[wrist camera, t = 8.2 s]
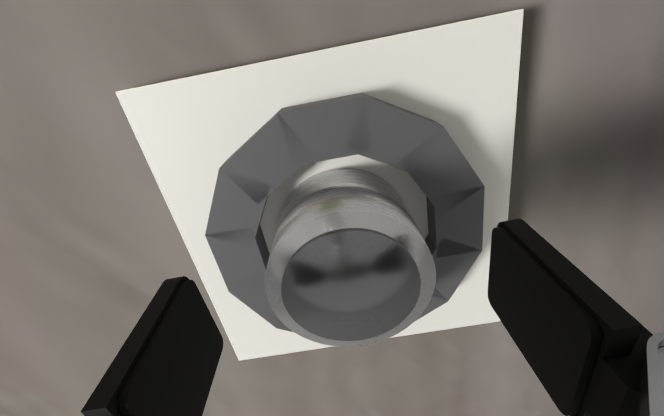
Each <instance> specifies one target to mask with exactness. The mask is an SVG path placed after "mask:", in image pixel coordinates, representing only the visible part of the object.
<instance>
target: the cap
mask: <svg viewBox="0 0 664 416" xmlns="http://www.w3.org/2000/svg"><path fill="white" fill-rule="evenodd" d="M264 284H265V293H266V297H267V300H268V302H269V305H270V307H271V309H272V310H273V312H274V314H275V315H276V316H277V318H278V319H279V320H280V321H281V322H282V323H283V324H284V325H285V326H286V327H288V328H289V329H290V330H292V331H293V332H295V333H296V334H298V335H300V336H302V337H304V338H306V339H308V340H311V341H313V342H317V343H320V344H325V345H330V346H340V347H353V346H363V345H368V344H373V343H376V342H379V341H382V340H385V339H387V338H390V337H392V336H394V335H396V334H398V333H400V332H401V331H403V330H404V329H406V328H407V327H408V326H410V325H411V324H412V323H413V322H415V320H416V319H417V318H418V317H419V316H420V315H421V314H422V313H423V311H424V310H425V309H426V307H427V306H428V304H429V302H430V300H431V298H432V295H433V292H434V289H435V284H436V268H435V263H434V260H433V256H432V254H431V252H430V250H429V248H428V246H427V244H426V242H425V240H424V239H423V237H422V235H421V233H420V231H419V229H418V227H417V225H416V224H415V222H414V220H413V218H412V216H411V214H410V212H409V210H408V209H407V207H406V205H405V203H404V201H403V199H402V197H401V196H400V194H399V193H398V192H397V190H396V189H395V188H394V187H393V186H392V185H391V184H390V183H388V182H387V181H386V180H385V179H383V178H381V177H380V176H378V175H376V174H373V173H371V172H368V171H365V170H361V169H355V168H337V169H330V170H326V171H323V172H320V173H317V174H315V175H313V176H311V177H309V178H307V179H306V180H304V181H303V182H302V183H300V184H299V185H298V186H297V187H296V188H295V189H294V190H293V191H292V192H291V194H290V195H289V196H288V198H287V199H286V201H285V203H284V205H283V207H282V210H281V213H280V217H279V221H278V225H277V229H276V233H275V236H274V240H273V244H272V248H271V252H270V256H269V260H268V264H267V268H266V272H265V281H264Z"/></svg>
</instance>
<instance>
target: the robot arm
mask: <svg viewBox="0 0 664 416" xmlns="http://www.w3.org/2000/svg"><path fill="white" fill-rule="evenodd" d="M488 300H489V302H490V305H491V306H492V308H493V310H494V311H495V313H496V314H497V316H498V317H499V319H500V320H501V322H502V323H503V325H504V326H505V328H506V329H507V331H508V332H509V334H510V336H511V337H512V339H513V340H514V342H515V343H516V345H517V346H518V348H519V349H520V351H521V352H522V354H523V355H524V357H525V359H526V360H527V362H528V363H529V365H530V366H531V368H532V369H533V371H534V372H535V374H536V375H537V377H538V378H539V380H540V381H541V383H542V385H543V386H544V388H545V389H546V391H547V392H548V394H549V395H550V397H551V398H552V400H553V401H554V403H555V404H556V406H557V408H558V409H559V410H560V412H561V413H562V414H564V415H565V416H568V415H570V416H664V332H660V333H656V334H654V335H653V334H651V333H650V332H649V331H648V330H647V329H646V328H645V327H643V325H642V324H641V323H639V322H638V321H637V320H636V319H635V318H634V317H633V316H631V315H630V314H629V313H628V312H627V311H626V310H625V309H623V308H622V307H621V306H620V305H619V304H618V303H617V302H615V301H614V300H613V299H612V298H611V297H610V296H609V295H607V294H606V293H605V292H604V291H603V290H602V289H601V288H599V287H598V286H597V285H596V284H595V283H594V282H593V281H592V280H590V279H589V278H588V277H587V276H586V275H585V274H584V273H582V272H581V271H580V270H579V269H578V268H577V267H576V266H574V265H573V264H572V263H571V262H570V261H569V260H568V259H566V258H565V257H564V256H563V255H562V254H561V253H560V252H558V251H557V250H556V249H555V248H554V247H553V246H552V245H551V244H549V243H548V242H547V241H546V240H545V239H544V238H543V237H541V236H540V235H539V234H538V233H537V232H536V231H535V230H533V229H532V228H531V227H530V226H529V225H528V224H527V223H525V222H524V221H523V220H521V219H514V220H508V221H502V222H499V223H498V225H497V227H496V228H493V230H492V237H491V251H490V265H489V280H488ZM222 349H223V338H222V336H221V334H220V332H219V330H218V328H217V326H216V324H215V322H214V320H213V318H212V316H211V314H210V312H209V310H208V308H207V306H206V304H205V302H204V300H203V298H202V296H201V294H200V292H199V290H198V288H197V286H196V284H195V282H194V281H193V280H189V279H188V278H187V277H184V276H183V277H177V278H172V279H167V280H165V281H164V282H163V283H162V285H161V287H160V288H159V290H158V291H157V293H156V294H155V296H154V298H153V299H152V301H151V302H150V304H149V305H148V307H147V309H146V310H145V312H144V313H143V315H142V316H141V318H140V320H139V321H138V323H137V324H136V326H135V327H134V329H133V330H132V332H131V334H130V335H129V337H128V338H127V340H126V341H125V343H124V345H123V346H122V348H121V349H120V351H119V352H118V354H117V356H116V357H115V359H114V360H113V362H112V363H111V365H110V367H109V368H108V370H107V371H106V373H105V374H104V376H103V378H102V379H101V381H100V382H99V384H98V385H97V387H96V389H95V390H94V392H93V393H92V395H91V396H90V398H89V400H88V401H87V403H86V404H85V406H84V407H83V409H82V411H81V412H82V413H83V414H84V416H202V414H203V411H204V407H205V404H206V401H207V398H208V394H209V391H210V388H211V385H212V381H213V378H214V375H215V372H216V368H217V365H218V362H219V359H220V355H221V352H222Z"/></svg>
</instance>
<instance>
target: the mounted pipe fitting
mask: <svg viewBox="0 0 664 416" xmlns="http://www.w3.org/2000/svg"><path fill="white" fill-rule="evenodd" d="M523 12H524V9H520V10H515V11H510V12H505V13H500V14H495V15H490V16H485V17H480V18H475V19H471V20H466V21H461V22H456V23H451V24H446V25H441V26H436V27H431V28H426V29H421V30H417V31H412V32H407V33H402V34H397V35H392V36H387V37H382V38H377V39H372V40H367V41H363V42H358V43H353V44H348V45H343V46H338V47H333V48H328V49H323V50H318V51H313V52H309V53H304V54H299V55H294V56H289V57H284V58H279V59H274V60H269V61H264V62H259V63H255V64H250V65H245V66H240V67H235V68H230V69H225V70H220V71H215V72H210V73H205V74H201V75H196V76H191V77H186V78H181V79H176V80H171V81H166V82H161V83H156V84H152V85H147V86H142V87H137V88H132V89H127V90H122V91H117V92H116V95H117V97H118V99H119V101H120V103H121V105H122V108H123V110H124V112H125V114H126V116H127V118H128V121H129V123H130V125H131V127H132V129H133V132H134V134H135V136H136V138H137V140H138V142H139V145H140V147H141V149H142V151H143V153H144V155H145V158H146V160H147V162H148V164H149V166H150V168H151V171H152V173H153V175H154V177H155V179H156V181H157V184H158V186H159V188H160V190H161V192H162V194H163V197H164V199H165V201H166V203H167V205H168V208H169V210H170V212H171V214H172V216H173V218H174V221H175V223H176V225H177V227H178V229H179V231H180V234H181V236H182V238H183V240H184V242H185V244H186V247H187V249H188V251H189V253H190V255H191V257H192V260H193V262H194V264H195V266H196V268H197V270H198V273H199V275H200V277H201V279H202V281H203V283H204V286H205V288H206V290H207V292H208V294H209V297H210V299H211V301H212V303H213V305H214V307H215V310H216V312H217V314H218V316H219V318H220V320H221V323H222V325H223V327H224V329H225V331H226V333H227V336H228V338H229V340H230V342H231V344H232V346H233V349H234V351H235V353H236V355H237V357H238V359H239V361H240V360H246V359H253V358H259V357H266V356H273V355H279V354H286V353H293V352H299V351H306V350H312V349H319V348H326V347H332V346H330V345H325V344H320V343H317V342H313V341H311V340H308V339H306V338H304V337H302V336H300V335H298V334H296V333H295V332H293V331H292V330H290V329H289V328H288V327H286V326H285V325H284V324H283V323H282V322H281V321H280V320H279V319H278V318H277V316H276V315H275V314H274V312H273V310H272V309H271V307H270V305H269V302H268V300H267V297H266V293H265V284H264V281H265V272H266V268H267V264H268V260H269V256H270V252H271V248H272V244H273V240H274V236H275V233H276V229H277V225H278V221H279V217H280V213H281V210H282V207H283V205H284V203H285V201H286V199H287V198H288V196H289V195H290V194H291V192H292V191H293V190H294V189H295V188H296V187H297V186H298V185H299V184H300V183H302V182H303V181H304V180H306V179H307V178H309V177H311V176H313V175H315V174H317V173H320V172H323V171H326V170H330V169H337V168H355V169H361V170H365V171H368V172H371V173H373V174H376V175H378V176H380V177H381V178H383V179H385V180H386V181H387V182H388V183H390V184H391V185H392V186H393V187H394V188H395V189H396V190H397V192H398V193H399V194H400V196H401V197H402V199H403V201H404V203H405V205H406V207H407V209H408V210H409V212H410V214H411V216H412V218H413V220H414V222H415V224H416V225H417V227H418V229H419V231H420V233H421V235H422V237H423V239H424V240H425V242H426V244H427V246H428V248H429V250H430V252H431V254H432V256H433V260H434V263H435V268H436V284H435V289H434V292H433V295H432V298H431V300H430V302H429V304H428V306H427V307H426V309H425V310H424V311H423V313H422V314H421V315H420V316H419V317H418V318H417V319H416V320H415V322H413V323H412V324H411V325H410V326H408V327H407V328H406V329H404V330H403V331H401V332H400V333H398V334H396V335H394V336H392V337H398V336H405V335H412V334H418V333H425V332H431V331H438V330H445V329H451V328H458V327H464V326H471V325H478V324H484V323H491V322H498V321H500V319H499V317H498V316H497V314H496V313H495V311H494V310H493V308H492V306H491V305H490V302H489V300H488V280H489V265H490V251H491V237H492V230H493V228H496V227H497V225H498V223H499V222H502V221H508V211H509V198H510V185H511V172H512V158H513V145H514V132H515V118H516V105H517V92H518V78H519V65H520V52H521V39H522V25H523ZM392 337H390V338H392Z"/></svg>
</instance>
